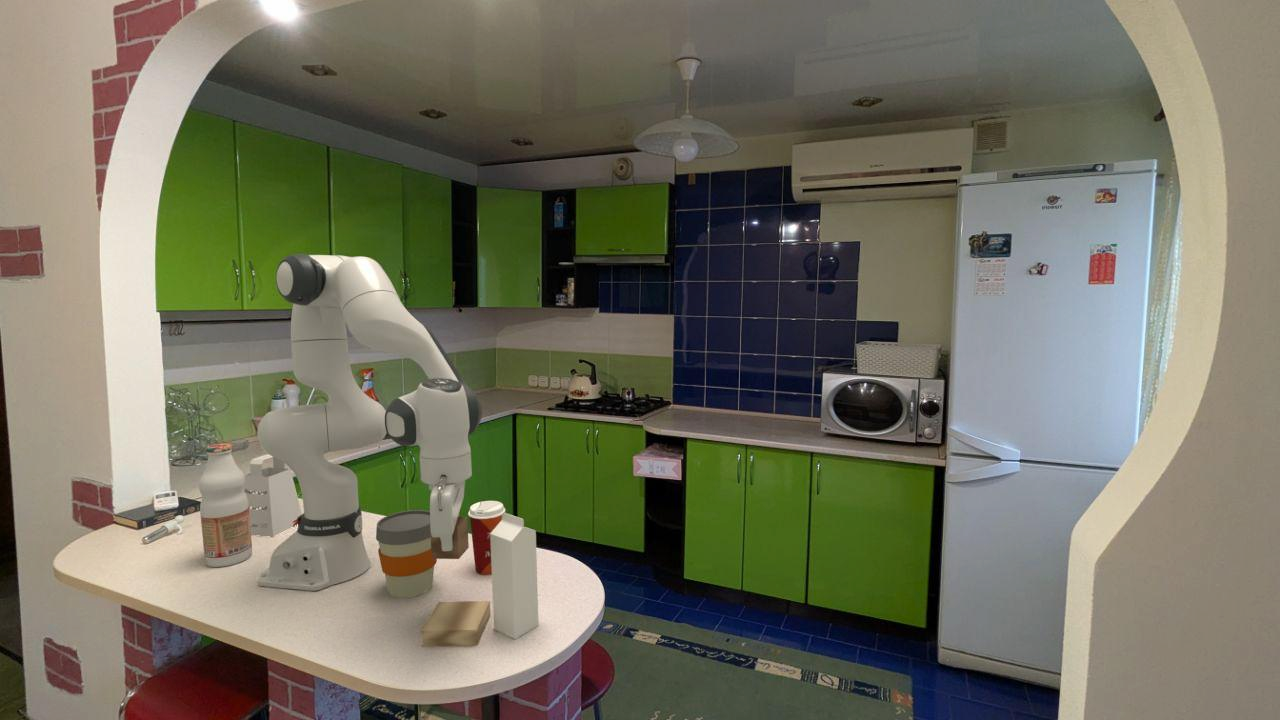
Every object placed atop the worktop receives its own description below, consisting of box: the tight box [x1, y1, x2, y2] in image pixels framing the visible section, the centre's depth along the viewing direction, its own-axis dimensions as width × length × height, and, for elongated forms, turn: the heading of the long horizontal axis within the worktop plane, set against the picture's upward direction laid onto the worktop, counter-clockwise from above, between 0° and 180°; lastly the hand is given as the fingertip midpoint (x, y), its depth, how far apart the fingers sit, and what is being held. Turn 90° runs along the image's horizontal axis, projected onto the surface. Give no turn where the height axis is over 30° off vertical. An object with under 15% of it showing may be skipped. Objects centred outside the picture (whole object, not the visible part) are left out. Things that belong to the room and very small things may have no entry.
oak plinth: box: [420, 600, 491, 647], centre depth 111 cm, size 10×10×3 cm
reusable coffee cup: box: [375, 509, 438, 598], centre depth 127 cm, size 13×13×15 cm
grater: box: [244, 453, 303, 538], centre depth 160 cm, size 10×10×20 cm
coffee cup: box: [467, 500, 506, 576], centre depth 135 cm, size 8×8×15 cm
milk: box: [490, 512, 539, 640], centre depth 111 cm, size 6×6×22 cm
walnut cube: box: [430, 516, 470, 560], centre depth 109 cm, size 5×5×6 cm
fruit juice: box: [198, 442, 253, 568], centre depth 141 cm, size 9×9×28 cm
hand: (450, 541), depth 109 cm, fingers closed on walnut cube, 6 cm apart
